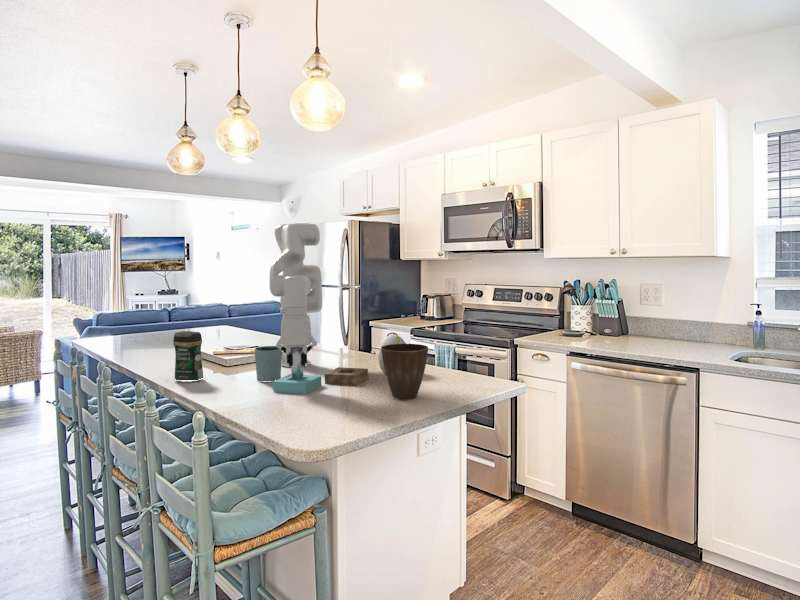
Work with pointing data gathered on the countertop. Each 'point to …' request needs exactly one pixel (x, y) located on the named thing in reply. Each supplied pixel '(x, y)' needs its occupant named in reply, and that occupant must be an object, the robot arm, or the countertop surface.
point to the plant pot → (404, 368)
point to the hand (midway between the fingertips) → (297, 364)
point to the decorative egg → (388, 341)
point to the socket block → (297, 384)
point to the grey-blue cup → (268, 363)
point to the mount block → (346, 376)
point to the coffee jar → (188, 355)
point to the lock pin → (297, 361)
